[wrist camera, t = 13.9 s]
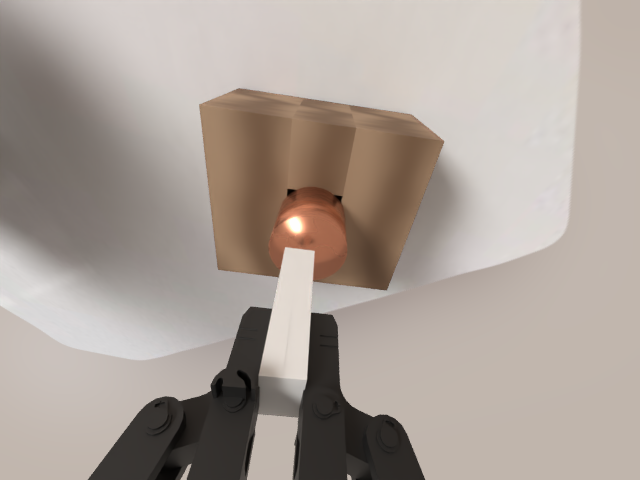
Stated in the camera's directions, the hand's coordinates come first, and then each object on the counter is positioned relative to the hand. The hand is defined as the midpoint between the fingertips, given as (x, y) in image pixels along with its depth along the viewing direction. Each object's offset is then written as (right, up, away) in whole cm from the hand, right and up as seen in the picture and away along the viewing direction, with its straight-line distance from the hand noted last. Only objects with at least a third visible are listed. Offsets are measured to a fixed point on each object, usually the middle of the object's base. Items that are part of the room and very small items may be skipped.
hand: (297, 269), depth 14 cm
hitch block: (+1, +9, +15) cm, 17 cm away
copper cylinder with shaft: (+1, +7, +12) cm, 14 cm away
